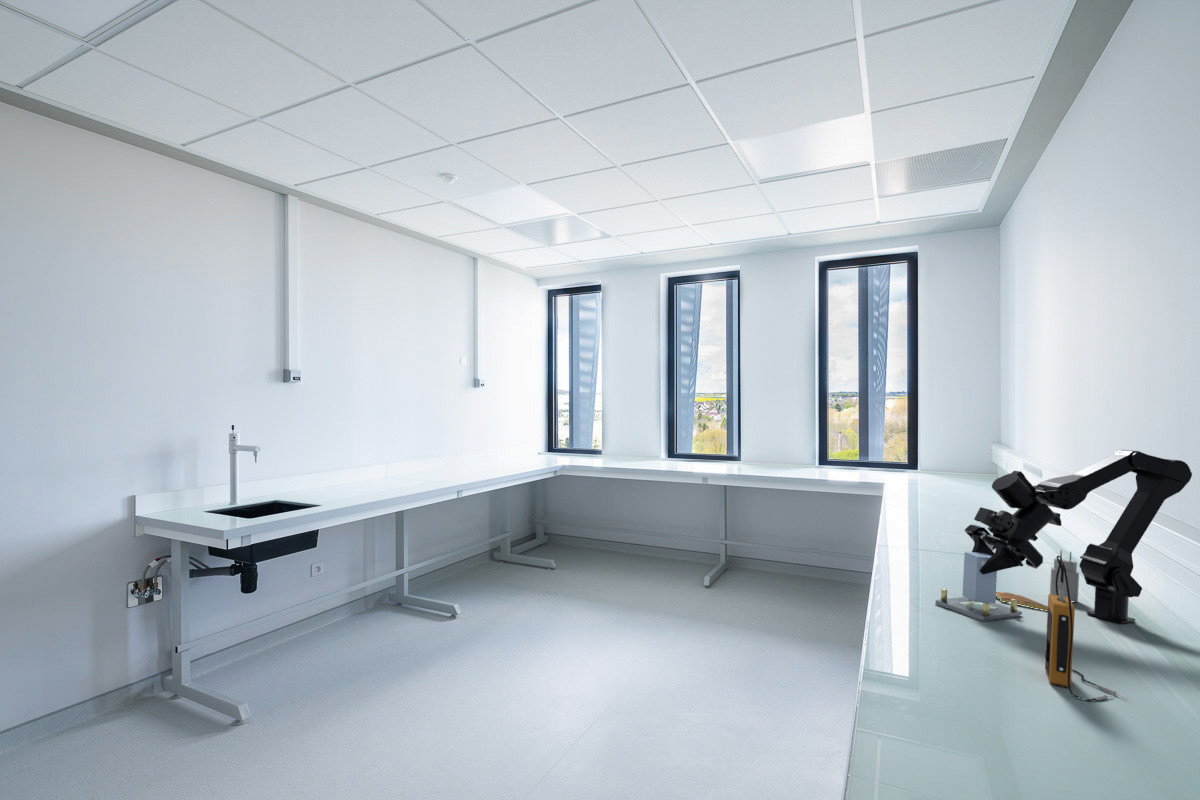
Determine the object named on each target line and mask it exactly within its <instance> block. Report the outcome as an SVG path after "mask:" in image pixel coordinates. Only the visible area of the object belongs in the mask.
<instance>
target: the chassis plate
mask: <svg viewBox="0 0 1200 800" xmlns="http://www.w3.org/2000/svg"><path fill="white" fill-rule="evenodd" d="M940 591H941V593H940V599H936V600H935V606H938V605H939V606H938V607H941V606H942V607H941V608H944V607H945V608H944V609H947V608H948V610H949V609H951V610H950V611H952V610H954V611H953V612H955V611H956V612H955V613H958V614H962V615H964V616H967V617H969V618H972V619H975V620H978V621H980V620H982V621H981V622H983V621H984V622H989V621H988V620H992V621H997V620H996V619H999V620H1003V619H1002V618H1006V619H1010V618H1009V617H1013V618H1016V617H1015V616H1020V615H1022V616H1023V612H1022V611H1020V610H1018V606H1017V600H1015V599H1011V604H1009V605H1010V607H1009V606H1005V605H1002V604H1000V603H996V602H995V603H986V602H983V603H981V602H974V601H972V600H970V599H968V598H966V597H964V596H961V597H952V598H948V589H945V588H941V590H940ZM1020 617H1021V616H1020ZM994 619H995V620H994Z"/></svg>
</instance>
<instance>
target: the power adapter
mask: <svg viewBox="0 0 1200 800" xmlns="http://www.w3.org/2000/svg"><path fill="white" fill-rule="evenodd" d="M1059 556H1061V558H1062V562H1064V565H1065V569H1066V574H1067V580H1068V586H1069V593H1070V601H1074V602H1078V603H1079V588H1080V587H1079V586H1080V584H1079V583H1080V582H1079V581H1080V572H1079V571H1077V568H1078V567H1077V565H1078V562H1076V561H1074V560H1072V551H1069V559H1063V551H1062V549H1060V553H1059ZM1059 560H1060V558H1059ZM1061 565H1062V563H1061ZM1058 567H1059V562H1058V560H1057V558H1054V559H1053V567H1051V568H1050V583H1049V585H1050V587H1049V594H1053V595H1057V594H1056V575H1057V571H1058ZM1060 581H1061V567H1060V570H1059V575H1058V582H1057V586H1058V595H1059V589H1060ZM1063 583H1064V586H1063V587H1064V588H1063V589H1064V597H1068V593H1067V586H1066V580H1065V574H1064V580H1063Z"/></svg>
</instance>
